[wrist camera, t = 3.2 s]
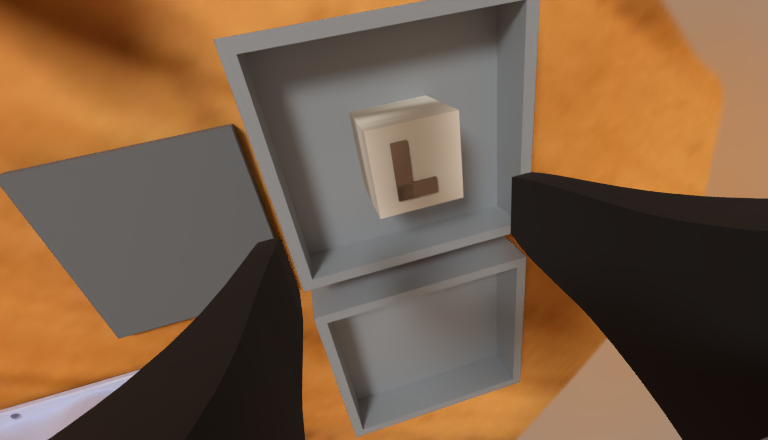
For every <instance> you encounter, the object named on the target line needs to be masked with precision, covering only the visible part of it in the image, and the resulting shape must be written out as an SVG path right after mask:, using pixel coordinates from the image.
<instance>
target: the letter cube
mask: <svg viewBox="0 0 768 440" xmlns="http://www.w3.org/2000/svg"><path fill="white" fill-rule="evenodd" d="M349 115H350V120H351V125H352V130H353V135H354V139H355V144H356V149H357V154H358V159H359V164H360V168H361V173H362V178H363V183H364V187H365V189H366V191H367V193H368V195H369V197H370V199H371V201H372V203H373V205H374V207H375V209H376V211H377V213H378V215H379V217H380V219H383V218H386V217H390V216H394V215H398V214H402V213H406V212H409V211H413V210H417V209H421V208H425V207H429V206H432V205H436V204H440V203H444V202H448V201H452V200H455V199H459V198H463V197H464V196H463V177H462V158H461V139H460V120H459V110H458V109H455V108H453V107H451V106H449V105H446V104H444V103H442V102H440V101H438V100H435V99H433V98H431V97H429V96H426V95H425V96H421V97H416V98H412V99H407V100H403V101H398V102H393V103H389V104H384V105H380V106H375V107H371V108H366V109H361V110H357V111H352V112H349Z"/></svg>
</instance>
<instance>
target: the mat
mask: <svg viewBox="0 0 768 440" xmlns="http://www.w3.org/2000/svg"><path fill="white" fill-rule="evenodd" d="M0 186H1V187H2V189H3V190H4V191H5V193H6V194H7V195H8V197H9V198H10V199H11V200H12V202H13V203H14V204H15V206H16V207H17V208H18V209H19V211H20V212H21V213H22V215H23V216H24V217H25V218H26V220H27V221H28V222H29V224H30V225H31V226H32V227H33V229H34V230H35V231H36V233H37V234H38V235H39V237H40V238H41V239H42V240H43V242H44V243H45V244H46V246H47V247H48V248H49V249H50V251H51V252H52V253H53V255H54V256H55V257H56V258H57V260H58V261H59V262H60V264H61V265H62V266H63V267H64V269H65V270H66V271H67V273H68V274H69V275H70V277H71V278H72V279H73V280H74V282H75V283H76V284H77V286H78V287H79V288H80V289H81V291H82V292H83V293H84V295H85V296H86V297H87V298H88V300H89V301H90V302H91V304H92V305H93V306H94V308H95V309H96V310H97V311H98V313H99V314H100V315H101V317H102V318H103V319H104V320H105V322H106V323H107V324H108V326H109V327H110V328H111V329H112V331H113V332H114V333H115V335H116V336H117V337H118V338H122V337H126V336H129V335H133V334H136V333H140V332H144V331H147V330H151V329H154V328H158V327H162V326H165V325H169V324H172V323H176V322H180V321H183V320H187V319H190V318H194V317H197V316H199V314H200V313H201V312H202V311H203V310H204V309H205V308H206V307H207V305H208V304H209V303H210V302H211V301H212V300H213V298H214V297H215V296H216V295H217V294H218V293H219V291H220V290H221V289H222V288H223V287H224V286H225V284H226V283H227V282H228V280H229V279H230V278H231V277H232V275H233V274H234V273H235V271H236V270H237V269H238V268H239V266H240V265H241V264H242V262H243V261H244V260H245V258H246V257H247V256H248V254H249V253H250V252H251V250H252V249H253V248H254V246H255V245H256V244H257V243H258V242H262V241H265V240H269V239H273V238H276V237H275V234H274V232H273V229H272V226H271V224H270V221H269V218H268V216H267V213H266V210H265V208H264V205H263V203H262V200H261V197H260V195H259V192H258V189H257V187H256V184H255V181H254V179H253V176H252V173H251V171H250V168H249V165H248V163H247V160H246V157H245V155H244V152H243V149H242V147H241V144H240V141H239V139H238V136H237V133H236V131H235V128H234V125H233V124H230V125H225V126H220V127H216V128H211V129H206V130H202V131H197V132H192V133H188V134H183V135H178V136H174V137H169V138H164V139H159V140H155V141H150V142H145V143H141V144H136V145H131V146H127V147H122V148H117V149H113V150H108V151H103V152H99V153H94V154H89V155H85V156H80V157H75V158H71V159H66V160H61V161H57V162H52V163H47V164H43V165H38V166H33V167H29V168H24V169H19V170H15V171H10V172H5V173H2V174H0Z"/></svg>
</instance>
